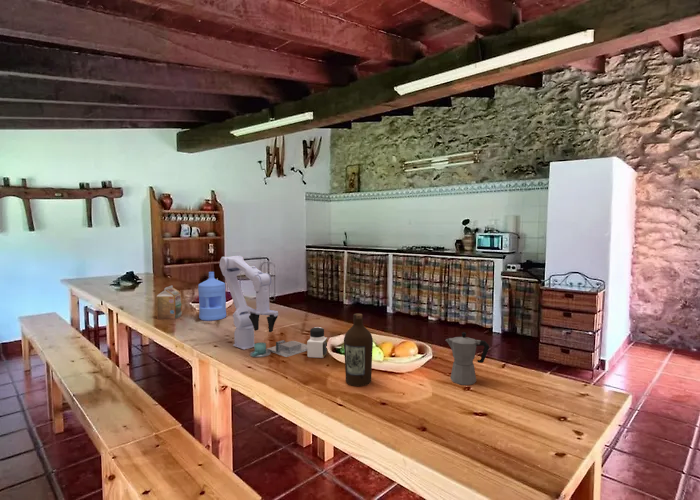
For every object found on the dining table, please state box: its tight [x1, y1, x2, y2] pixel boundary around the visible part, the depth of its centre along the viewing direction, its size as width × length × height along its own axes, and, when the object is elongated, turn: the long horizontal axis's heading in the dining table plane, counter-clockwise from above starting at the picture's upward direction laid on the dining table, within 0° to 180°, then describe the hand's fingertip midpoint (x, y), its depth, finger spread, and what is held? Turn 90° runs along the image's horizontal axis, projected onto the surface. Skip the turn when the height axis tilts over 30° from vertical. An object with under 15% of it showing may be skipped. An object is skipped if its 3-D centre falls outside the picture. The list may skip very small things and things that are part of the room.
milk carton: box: [156, 284, 183, 321], centre depth 252 cm, size 11×11×19 cm
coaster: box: [249, 349, 272, 358], centre depth 184 cm, size 9×9×1 cm
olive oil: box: [343, 313, 374, 387], centre depth 151 cm, size 11×11×25 cm
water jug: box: [197, 271, 227, 322], centre depth 250 cm, size 16×16×28 cm
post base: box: [266, 339, 307, 358], centre depth 189 cm, size 14×16×5 cm
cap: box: [251, 342, 267, 357], centre depth 182 cm, size 5×8×4 cm, turn 158°
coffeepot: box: [445, 331, 490, 386], centre depth 151 cm, size 15×9×18 cm, turn 68°
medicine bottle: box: [306, 326, 328, 359], centre depth 181 cm, size 7×7×12 cm
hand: (263, 330), depth 184 cm, fingers open, 7 cm apart
